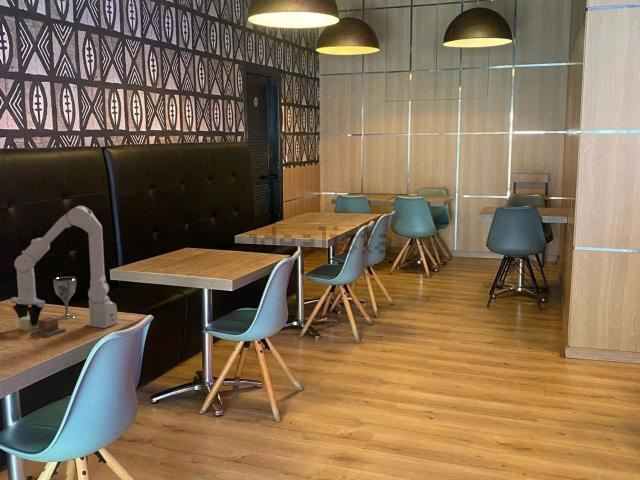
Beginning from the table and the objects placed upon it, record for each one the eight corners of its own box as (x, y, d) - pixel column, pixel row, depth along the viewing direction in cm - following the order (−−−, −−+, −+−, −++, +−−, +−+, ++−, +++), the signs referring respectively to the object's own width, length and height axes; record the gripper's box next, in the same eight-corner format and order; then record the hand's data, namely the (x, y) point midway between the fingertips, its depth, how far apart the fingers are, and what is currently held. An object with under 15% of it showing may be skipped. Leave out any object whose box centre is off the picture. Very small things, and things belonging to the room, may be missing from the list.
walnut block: (58, 329, 223) (57, 318, 222) (48, 332, 219) (47, 321, 218) (48, 327, 224) (48, 316, 224) (38, 331, 220) (37, 320, 220)
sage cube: (39, 327, 229) (38, 316, 228) (29, 330, 225) (28, 319, 224) (29, 325, 230) (29, 315, 230) (19, 329, 226) (19, 318, 226)
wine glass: (51, 319, 240) (48, 280, 237) (64, 313, 247) (61, 276, 245) (70, 320, 238) (67, 281, 236) (82, 314, 246) (80, 277, 243)
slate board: (65, 331, 224) (65, 328, 223) (47, 337, 216) (47, 334, 216) (48, 328, 227) (48, 326, 226) (30, 334, 219) (30, 332, 219)
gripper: (2, 288, 224) (5, 325, 226) (32, 291, 219) (35, 329, 221) (18, 284, 231) (21, 320, 233) (48, 287, 225) (51, 324, 227)
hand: (29, 324), depth 227 cm, fingers closed on sage cube, 4 cm apart
